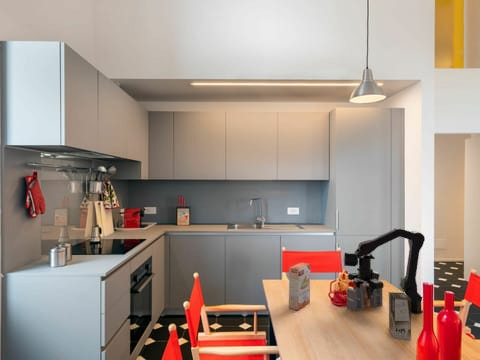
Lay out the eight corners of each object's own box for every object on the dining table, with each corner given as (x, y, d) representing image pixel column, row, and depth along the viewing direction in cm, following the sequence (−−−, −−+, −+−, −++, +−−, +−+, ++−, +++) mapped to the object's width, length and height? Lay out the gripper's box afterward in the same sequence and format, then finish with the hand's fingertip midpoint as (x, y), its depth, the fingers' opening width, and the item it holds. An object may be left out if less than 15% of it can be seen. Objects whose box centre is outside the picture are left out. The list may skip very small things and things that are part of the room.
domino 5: (382, 305, 161) (382, 286, 161) (380, 305, 160) (380, 286, 160) (374, 302, 165) (374, 283, 165) (372, 302, 165) (372, 283, 165)
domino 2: (363, 309, 155) (363, 289, 155) (361, 310, 154) (360, 290, 155) (356, 305, 160) (355, 286, 160) (353, 306, 159) (353, 287, 159)
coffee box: (411, 340, 124) (411, 300, 124) (394, 338, 125) (394, 298, 126) (404, 329, 133) (404, 292, 133) (388, 328, 134) (388, 291, 135)
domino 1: (356, 310, 153) (356, 290, 153) (354, 311, 152) (354, 291, 153) (349, 307, 158) (349, 287, 158) (346, 307, 157) (346, 288, 157)
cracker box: (299, 311, 153) (299, 269, 153) (288, 308, 156) (288, 267, 157) (310, 302, 164) (310, 263, 164) (300, 300, 167) (300, 261, 168)
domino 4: (376, 306, 159) (376, 287, 159) (374, 307, 158) (373, 287, 158) (368, 303, 163) (368, 284, 164) (366, 303, 163) (366, 284, 163)
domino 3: (370, 306, 157) (369, 286, 157) (367, 307, 156) (367, 287, 156) (362, 303, 161) (362, 284, 162) (360, 303, 161) (359, 284, 161)
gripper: (391, 269, 154) (391, 300, 154) (362, 261, 171) (362, 289, 171) (375, 272, 150) (375, 304, 149) (347, 263, 166) (347, 292, 166)
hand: (365, 297), depth 159 cm, fingers closed on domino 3, 5 cm apart
